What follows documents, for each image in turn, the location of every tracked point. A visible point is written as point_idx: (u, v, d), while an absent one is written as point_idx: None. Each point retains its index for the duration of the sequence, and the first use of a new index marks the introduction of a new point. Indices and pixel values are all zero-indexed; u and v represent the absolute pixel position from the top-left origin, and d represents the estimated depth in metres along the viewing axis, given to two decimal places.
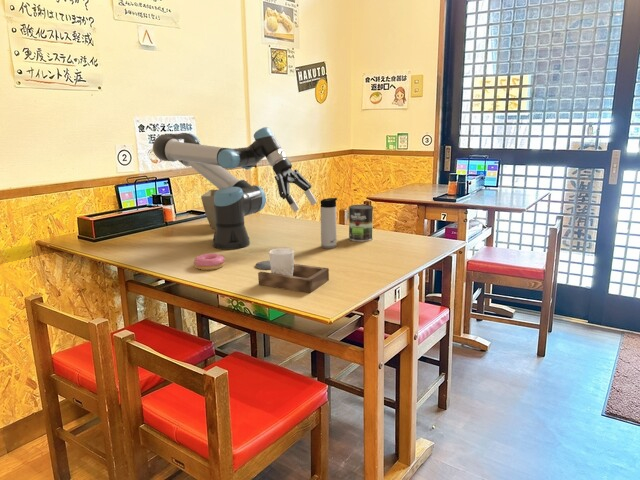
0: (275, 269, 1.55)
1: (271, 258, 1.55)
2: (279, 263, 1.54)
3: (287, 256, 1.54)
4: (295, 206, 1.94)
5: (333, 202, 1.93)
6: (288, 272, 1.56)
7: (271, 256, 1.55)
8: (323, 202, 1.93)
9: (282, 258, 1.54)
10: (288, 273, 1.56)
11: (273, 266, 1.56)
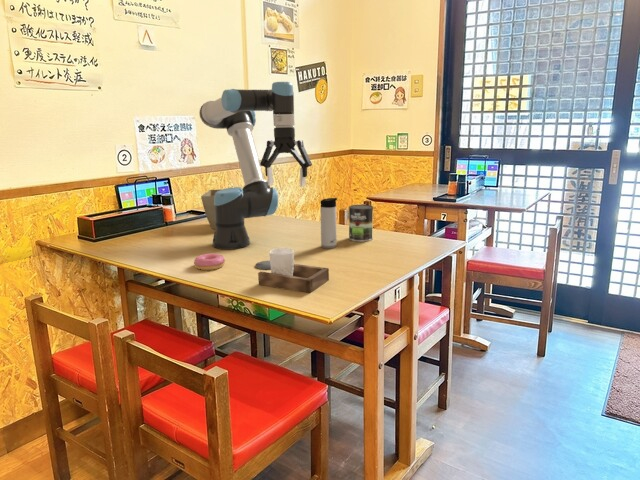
0: (275, 269, 1.55)
1: (271, 258, 1.55)
2: (279, 263, 1.54)
3: (287, 256, 1.54)
4: None
5: (333, 202, 1.93)
6: (288, 272, 1.56)
7: (271, 256, 1.55)
8: (323, 202, 1.93)
9: (282, 258, 1.54)
10: (288, 273, 1.56)
11: (273, 266, 1.56)
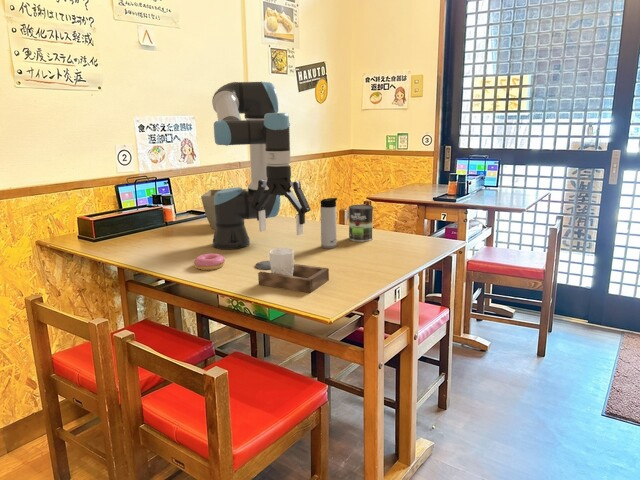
0: (275, 269, 1.55)
1: (271, 258, 1.55)
2: (279, 263, 1.54)
3: (287, 256, 1.54)
4: None
5: (333, 202, 1.93)
6: (288, 272, 1.56)
7: (271, 256, 1.55)
8: (323, 202, 1.93)
9: (282, 258, 1.54)
10: (288, 273, 1.56)
11: (273, 266, 1.56)
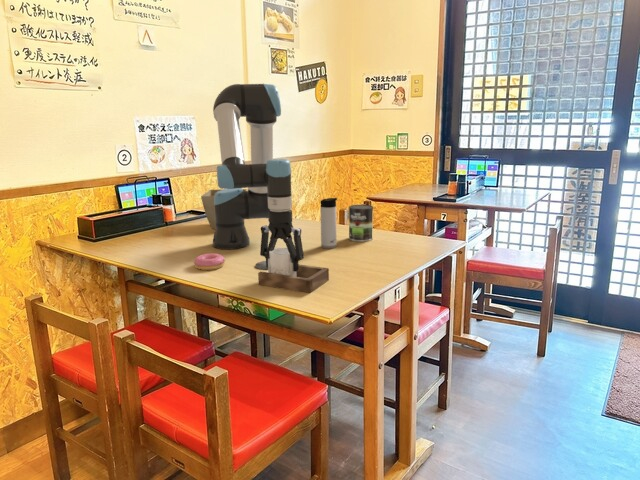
0: (275, 269, 1.55)
1: (271, 258, 1.55)
2: (279, 262, 1.54)
3: (287, 256, 1.54)
4: None
5: (333, 202, 1.93)
6: (288, 272, 1.56)
7: (271, 256, 1.55)
8: (323, 202, 1.93)
9: (282, 258, 1.54)
10: (288, 273, 1.56)
11: (273, 266, 1.56)
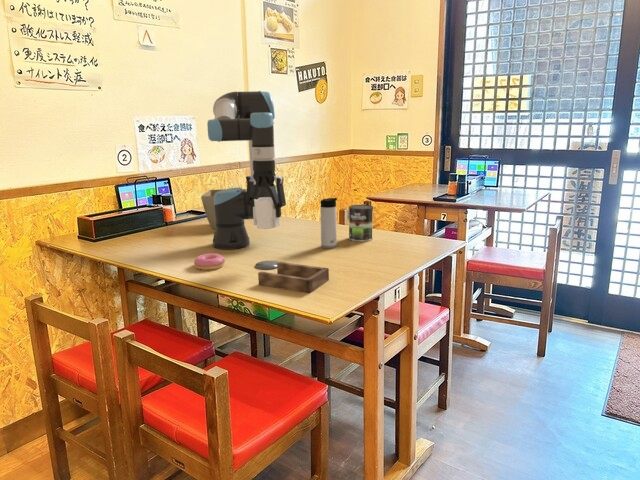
0: (259, 215, 1.68)
1: (255, 205, 1.68)
2: (263, 208, 1.67)
3: (270, 202, 1.67)
4: None
5: (333, 202, 1.93)
6: (271, 218, 1.69)
7: (255, 203, 1.68)
8: (323, 202, 1.93)
9: (265, 204, 1.66)
10: (271, 219, 1.69)
11: (257, 212, 1.68)
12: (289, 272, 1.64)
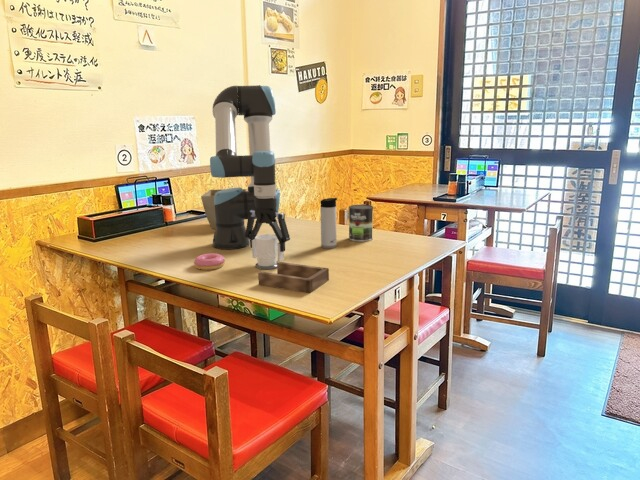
0: (260, 253, 1.71)
1: (256, 243, 1.71)
2: (263, 247, 1.70)
3: (270, 241, 1.70)
4: None
5: (333, 202, 1.93)
6: (272, 256, 1.72)
7: (256, 241, 1.71)
8: (323, 202, 1.93)
9: (266, 243, 1.70)
10: (272, 257, 1.72)
11: (258, 250, 1.72)
12: (289, 272, 1.64)
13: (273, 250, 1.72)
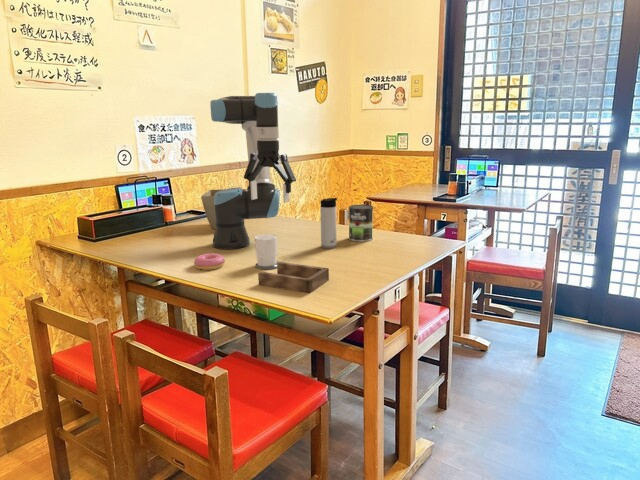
0: (260, 253, 1.71)
1: (256, 243, 1.71)
2: (263, 247, 1.70)
3: (270, 241, 1.70)
4: None
5: (333, 202, 1.93)
6: (272, 256, 1.72)
7: (256, 241, 1.71)
8: (323, 202, 1.93)
9: (266, 243, 1.70)
10: (272, 257, 1.72)
11: (258, 250, 1.72)
12: (289, 272, 1.64)
13: (273, 250, 1.72)
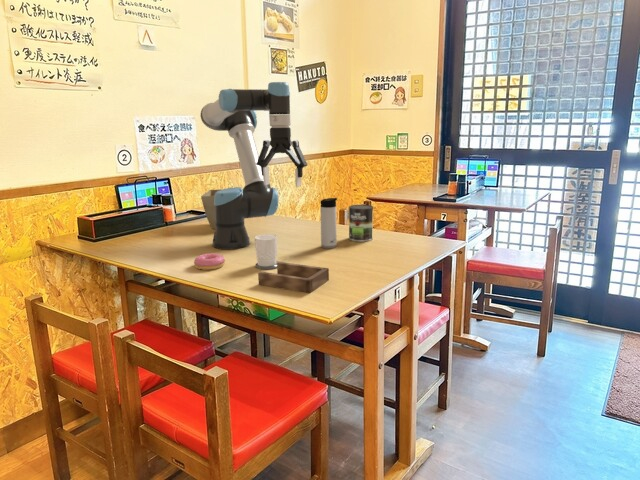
0: (260, 253, 1.71)
1: (256, 243, 1.71)
2: (263, 247, 1.70)
3: (270, 241, 1.70)
4: None
5: (333, 202, 1.93)
6: (272, 256, 1.72)
7: (256, 241, 1.71)
8: (323, 202, 1.93)
9: (266, 243, 1.70)
10: (272, 257, 1.72)
11: (258, 250, 1.72)
12: (289, 272, 1.64)
13: (273, 250, 1.72)
